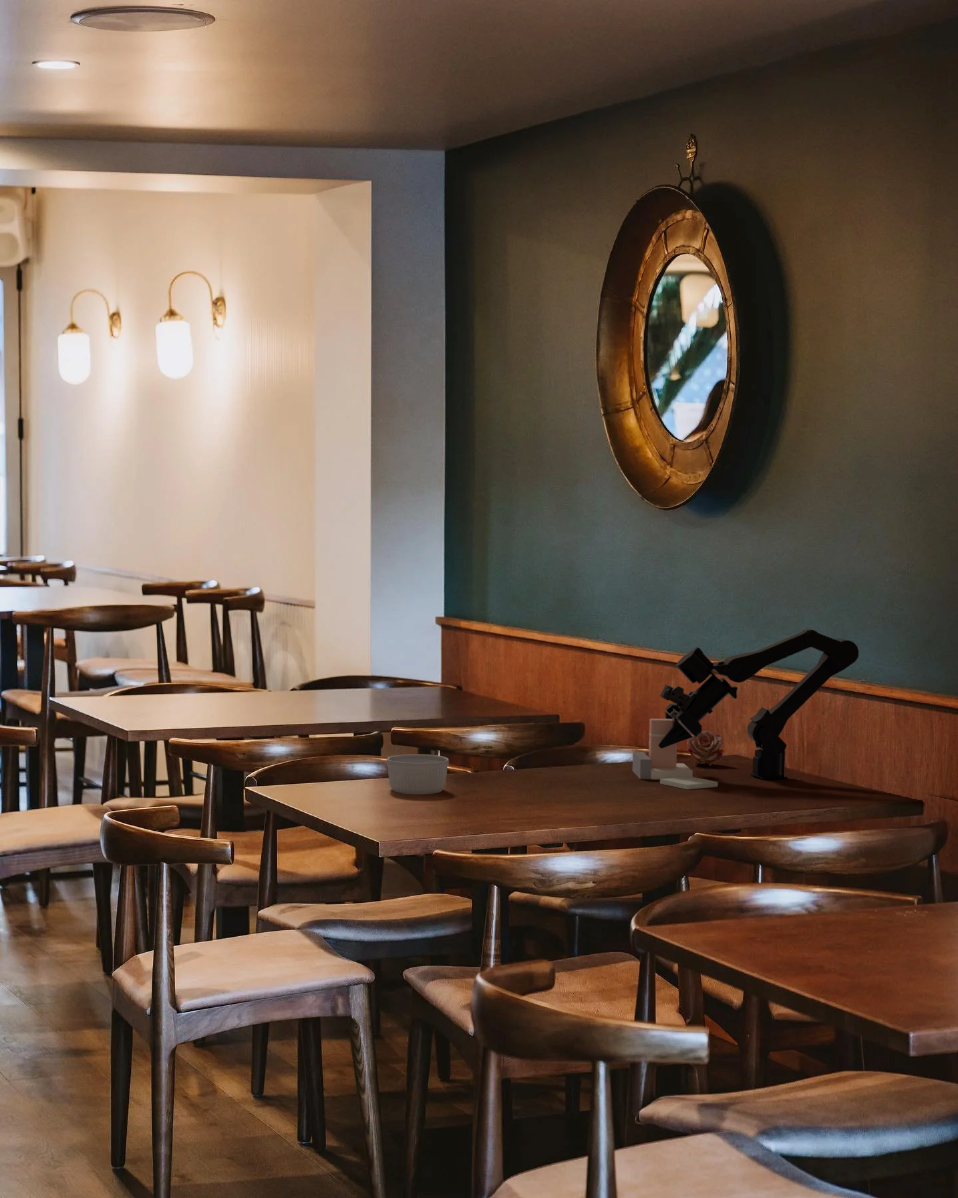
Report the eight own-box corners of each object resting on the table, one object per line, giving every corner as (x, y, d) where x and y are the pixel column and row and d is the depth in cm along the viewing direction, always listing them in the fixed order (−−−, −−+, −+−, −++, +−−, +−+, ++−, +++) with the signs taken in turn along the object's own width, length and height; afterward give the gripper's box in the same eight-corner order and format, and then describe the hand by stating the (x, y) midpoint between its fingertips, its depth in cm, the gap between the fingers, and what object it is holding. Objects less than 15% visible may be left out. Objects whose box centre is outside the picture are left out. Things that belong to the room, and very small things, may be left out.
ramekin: (390, 796, 338) (391, 763, 337) (381, 786, 351) (382, 754, 350) (453, 795, 340) (454, 762, 340) (441, 785, 353) (442, 753, 353)
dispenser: (683, 772, 381) (683, 752, 381) (692, 780, 369) (692, 760, 369) (632, 771, 380) (633, 752, 380) (639, 779, 369) (640, 759, 368)
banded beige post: (674, 774, 376) (675, 719, 376) (676, 776, 373) (677, 720, 373) (647, 774, 376) (649, 718, 376) (649, 776, 373) (651, 720, 373)
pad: (690, 780, 368) (690, 776, 368) (717, 786, 360) (717, 782, 360) (660, 783, 363) (660, 779, 363) (687, 789, 355) (687, 785, 355)
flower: (681, 753, 400) (681, 730, 395) (717, 746, 401) (717, 722, 396) (693, 780, 393) (693, 756, 388) (729, 773, 393) (730, 749, 389)
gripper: (675, 669, 383) (627, 714, 383) (689, 676, 365) (638, 724, 365) (707, 703, 384) (659, 748, 384) (722, 712, 365) (672, 760, 365)
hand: (656, 744), depth 374 cm, fingers open, 8 cm apart
